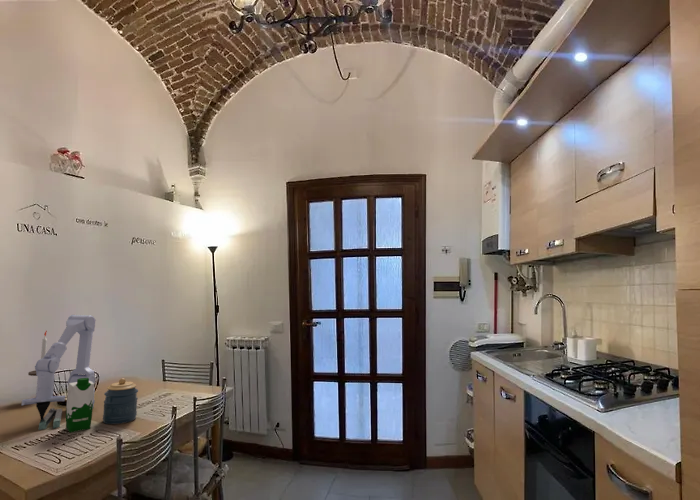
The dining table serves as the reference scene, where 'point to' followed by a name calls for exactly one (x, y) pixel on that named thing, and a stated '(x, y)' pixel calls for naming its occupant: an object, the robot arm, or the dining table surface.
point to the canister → (120, 402)
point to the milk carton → (79, 405)
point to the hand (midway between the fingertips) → (41, 420)
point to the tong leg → (46, 420)
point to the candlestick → (43, 353)
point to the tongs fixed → (56, 417)
